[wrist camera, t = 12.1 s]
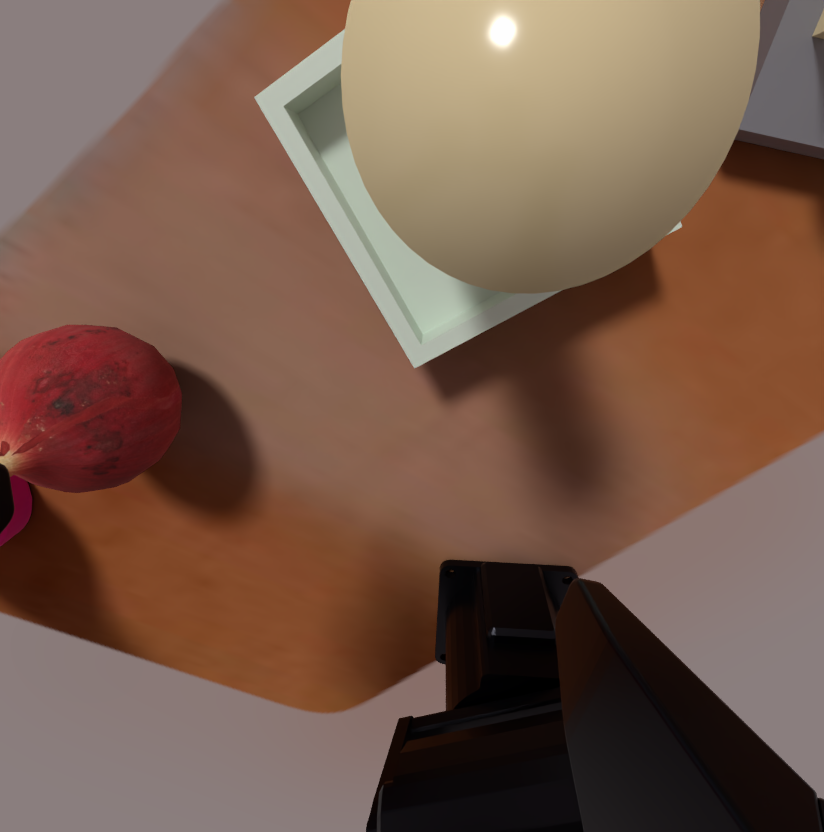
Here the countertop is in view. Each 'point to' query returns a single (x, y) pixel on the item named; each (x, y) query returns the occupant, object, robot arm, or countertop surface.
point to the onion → (85, 408)
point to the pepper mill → (18, 508)
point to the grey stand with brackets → (788, 80)
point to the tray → (375, 218)
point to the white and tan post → (542, 126)
